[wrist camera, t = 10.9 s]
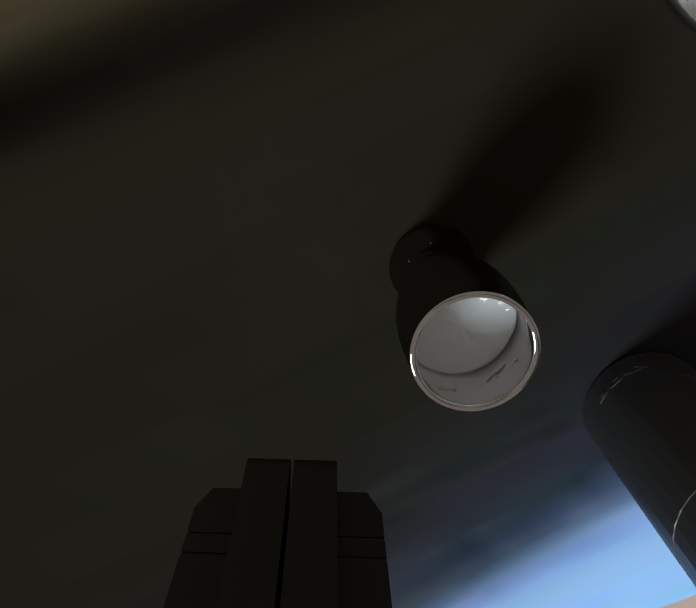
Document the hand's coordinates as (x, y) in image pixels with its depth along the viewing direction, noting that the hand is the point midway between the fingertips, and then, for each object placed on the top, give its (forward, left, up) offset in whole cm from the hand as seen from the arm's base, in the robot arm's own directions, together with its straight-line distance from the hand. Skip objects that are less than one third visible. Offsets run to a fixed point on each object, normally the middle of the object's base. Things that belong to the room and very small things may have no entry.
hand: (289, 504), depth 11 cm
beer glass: (-10, -1, -35) cm, 37 cm away
